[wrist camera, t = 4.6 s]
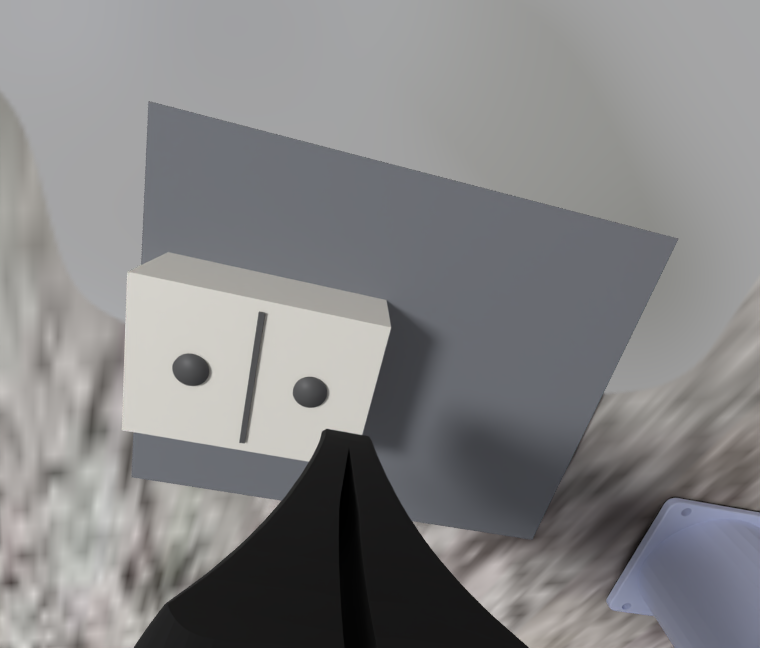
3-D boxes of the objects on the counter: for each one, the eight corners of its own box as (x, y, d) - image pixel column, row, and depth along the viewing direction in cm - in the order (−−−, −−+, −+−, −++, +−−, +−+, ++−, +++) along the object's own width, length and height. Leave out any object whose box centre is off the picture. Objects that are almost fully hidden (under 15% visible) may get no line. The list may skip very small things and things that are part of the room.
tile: (391, 328, 14) (125, 272, 13) (353, 470, 16) (120, 431, 15) (386, 300, 17) (168, 251, 16) (354, 423, 19) (159, 388, 18)
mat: (671, 236, 17) (678, 238, 17) (529, 533, 22) (532, 539, 22) (154, 102, 15) (148, 100, 14) (135, 471, 20) (131, 477, 20)
